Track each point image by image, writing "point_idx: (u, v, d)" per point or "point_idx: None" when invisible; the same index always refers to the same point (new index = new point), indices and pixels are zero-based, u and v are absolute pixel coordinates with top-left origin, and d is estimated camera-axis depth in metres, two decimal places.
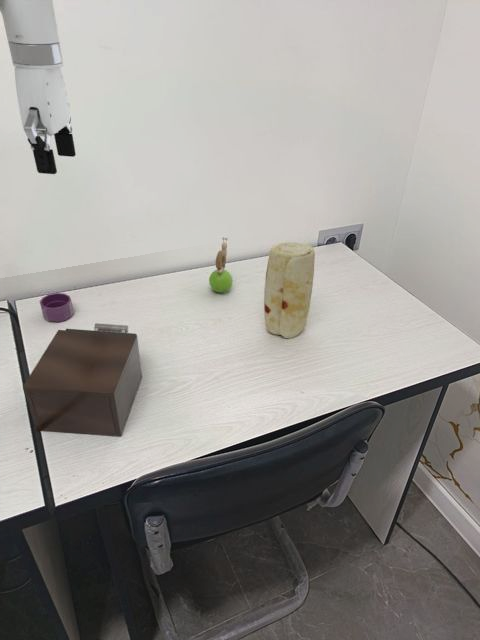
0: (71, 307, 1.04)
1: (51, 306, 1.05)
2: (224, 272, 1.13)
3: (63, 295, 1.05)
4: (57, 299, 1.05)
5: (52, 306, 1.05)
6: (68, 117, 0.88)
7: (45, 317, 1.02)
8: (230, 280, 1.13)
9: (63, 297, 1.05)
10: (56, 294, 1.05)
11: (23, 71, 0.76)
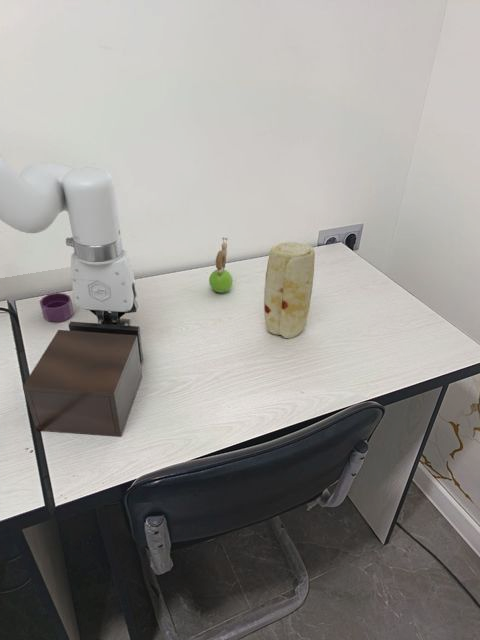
0: (71, 307, 1.04)
1: (51, 306, 1.05)
2: (224, 272, 1.13)
3: (63, 295, 1.05)
4: (57, 299, 1.05)
5: (52, 306, 1.05)
6: None
7: (45, 317, 1.02)
8: (230, 280, 1.13)
9: (63, 297, 1.05)
10: (56, 294, 1.05)
11: (126, 259, 0.83)
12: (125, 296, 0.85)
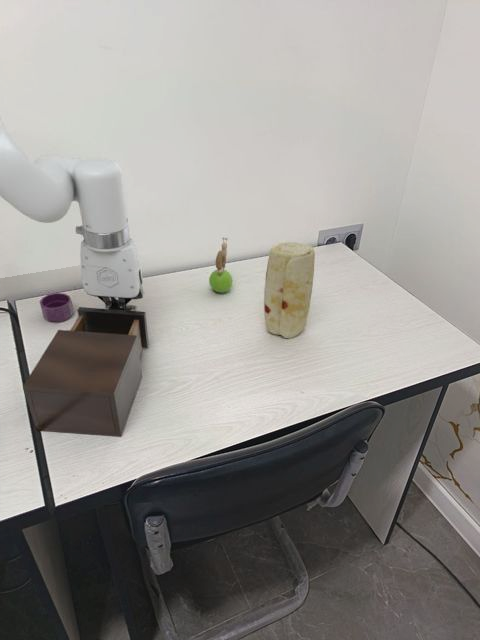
0: (71, 307, 1.04)
1: (51, 306, 1.05)
2: (224, 272, 1.13)
3: (63, 295, 1.05)
4: (57, 299, 1.05)
5: (52, 306, 1.05)
6: None
7: (45, 317, 1.02)
8: (230, 280, 1.13)
9: (63, 297, 1.05)
10: (56, 294, 1.05)
11: (133, 247, 0.87)
12: (132, 282, 0.89)
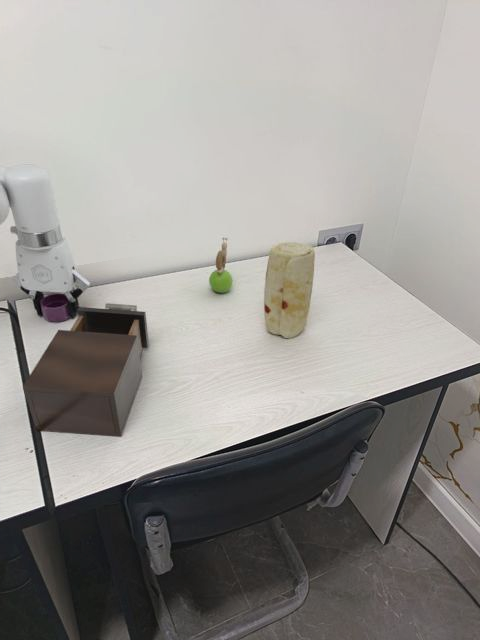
0: None
1: (51, 306, 1.05)
2: (224, 272, 1.13)
3: (63, 295, 1.05)
4: (57, 299, 1.05)
5: (52, 306, 1.05)
6: None
7: (45, 317, 1.02)
8: (230, 280, 1.13)
9: (63, 297, 1.05)
10: (56, 294, 1.05)
11: (64, 245, 0.94)
12: (65, 278, 0.96)
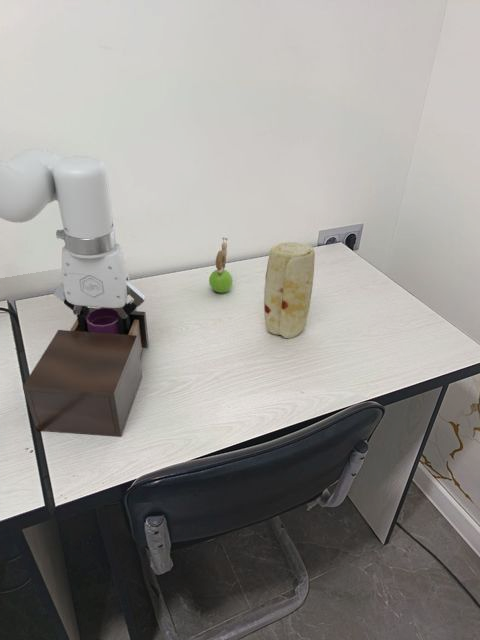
0: None
1: (97, 322, 0.90)
2: (224, 272, 1.13)
3: (111, 310, 0.90)
4: (104, 314, 0.91)
5: (98, 322, 0.90)
6: None
7: None
8: (230, 280, 1.13)
9: (111, 312, 0.90)
10: (103, 308, 0.90)
11: (119, 253, 0.79)
12: (118, 291, 0.81)
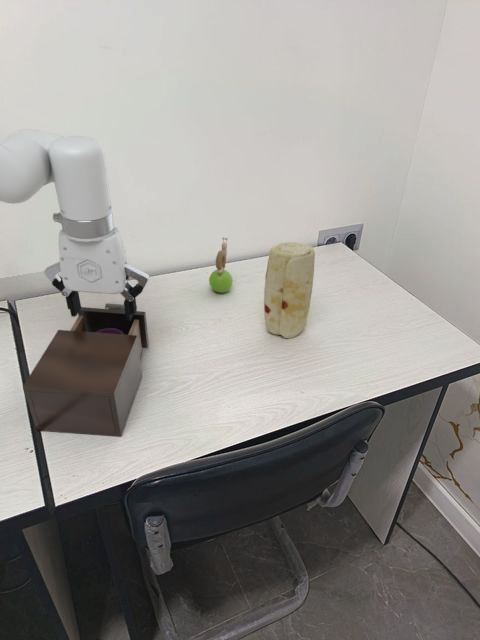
0: None
1: None
2: (224, 272, 1.13)
3: (115, 330, 0.93)
4: None
5: None
6: None
7: None
8: (230, 280, 1.13)
9: (115, 332, 0.93)
10: (107, 329, 0.93)
11: (117, 237, 0.77)
12: (117, 276, 0.80)
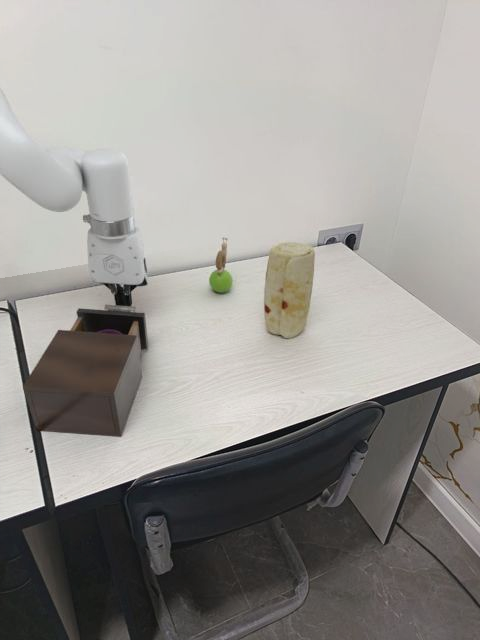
0: None
1: None
2: (224, 272, 1.13)
3: (114, 332, 0.92)
4: None
5: None
6: None
7: None
8: (230, 280, 1.13)
9: None
10: (106, 330, 0.92)
11: (138, 235, 0.90)
12: (137, 269, 0.92)
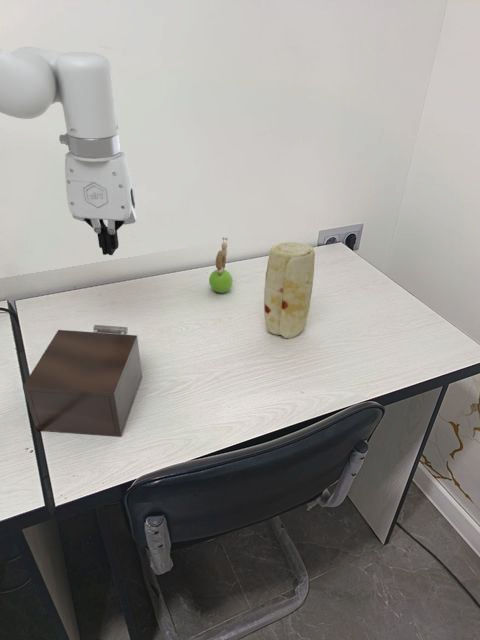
0: None
1: None
2: (224, 272, 1.13)
3: None
4: None
5: None
6: None
7: None
8: (230, 280, 1.13)
9: None
10: None
11: (123, 159, 0.78)
12: (123, 201, 0.80)
